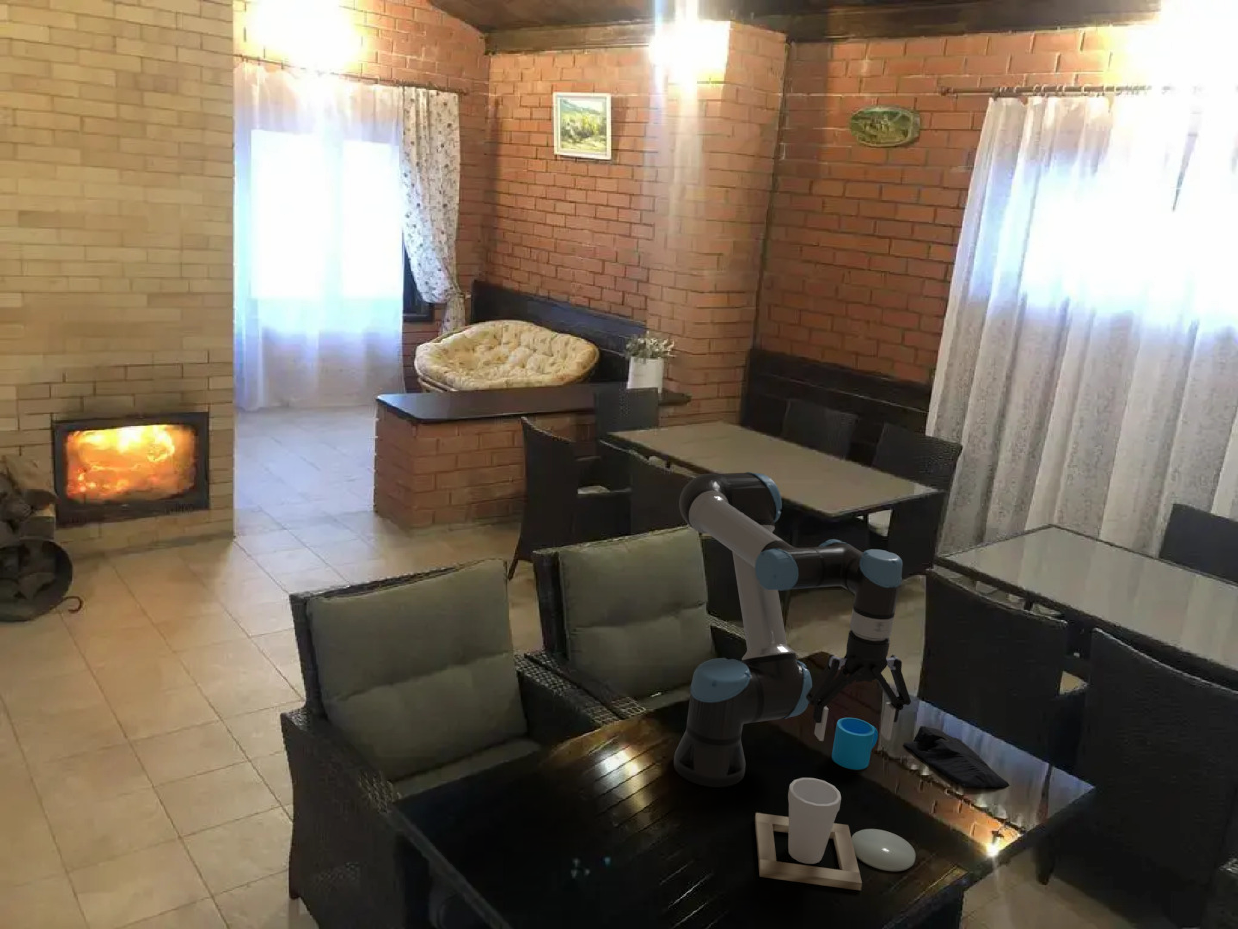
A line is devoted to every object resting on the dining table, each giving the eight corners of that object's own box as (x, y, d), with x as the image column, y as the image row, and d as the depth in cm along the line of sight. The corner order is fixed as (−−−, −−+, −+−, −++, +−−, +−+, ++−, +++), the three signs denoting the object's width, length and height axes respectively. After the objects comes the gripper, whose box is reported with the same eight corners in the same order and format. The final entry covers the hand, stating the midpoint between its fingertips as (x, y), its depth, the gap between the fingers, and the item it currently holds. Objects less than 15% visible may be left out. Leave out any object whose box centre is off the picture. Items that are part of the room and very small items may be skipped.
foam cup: (833, 847, 195) (844, 786, 192) (827, 874, 186) (837, 811, 183) (784, 833, 198) (793, 773, 194) (775, 860, 189) (785, 797, 186)
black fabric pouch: (955, 796, 218) (959, 776, 217) (898, 743, 238) (901, 725, 237) (1014, 790, 223) (1019, 770, 222) (953, 739, 243) (957, 720, 242)
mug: (851, 773, 222) (857, 739, 220) (823, 755, 229) (829, 722, 227) (888, 760, 229) (893, 727, 227) (860, 743, 236) (865, 711, 234)
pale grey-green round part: (855, 866, 189) (855, 862, 189) (846, 829, 201) (847, 825, 201) (920, 875, 189) (921, 871, 189) (908, 837, 200) (908, 833, 200)
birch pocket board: (759, 876, 184) (760, 869, 183) (754, 819, 201) (755, 812, 201) (860, 890, 183) (861, 883, 182) (847, 832, 200) (848, 825, 200)
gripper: (814, 641, 183) (797, 748, 189) (941, 642, 189) (921, 746, 194) (799, 624, 191) (783, 727, 196) (921, 626, 196) (903, 726, 201)
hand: (852, 737), depth 195 cm, fingers open, 13 cm apart
